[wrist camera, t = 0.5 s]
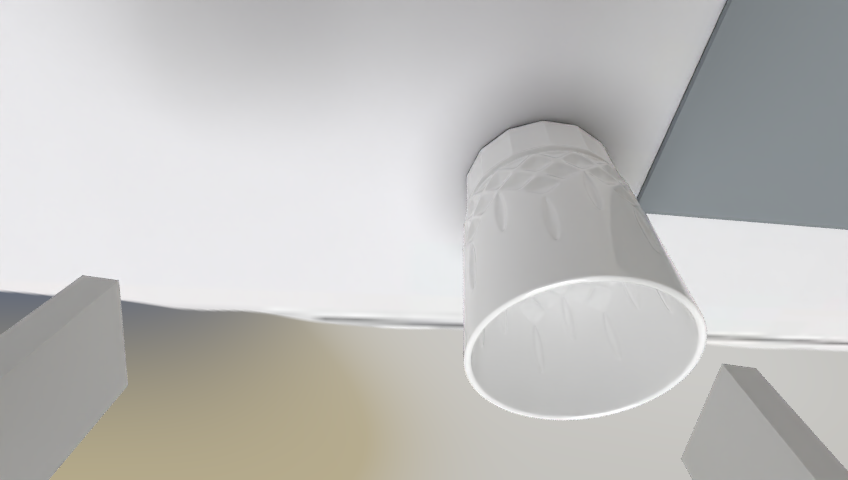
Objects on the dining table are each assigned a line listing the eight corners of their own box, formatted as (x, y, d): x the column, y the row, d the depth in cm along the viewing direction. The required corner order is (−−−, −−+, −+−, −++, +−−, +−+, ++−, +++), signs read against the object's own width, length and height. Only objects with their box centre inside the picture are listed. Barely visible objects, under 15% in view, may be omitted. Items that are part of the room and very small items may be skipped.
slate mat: (757, -67, 18) (761, -64, 18) (1081, -29, 19) (1089, -27, 19) (632, 208, 26) (634, 212, 26) (864, 227, 27) (868, 231, 27)
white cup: (659, 165, 25) (760, 341, 17) (541, 265, 29) (581, 441, 22) (530, 72, 22) (583, 236, 14) (420, 199, 26) (417, 376, 19)
